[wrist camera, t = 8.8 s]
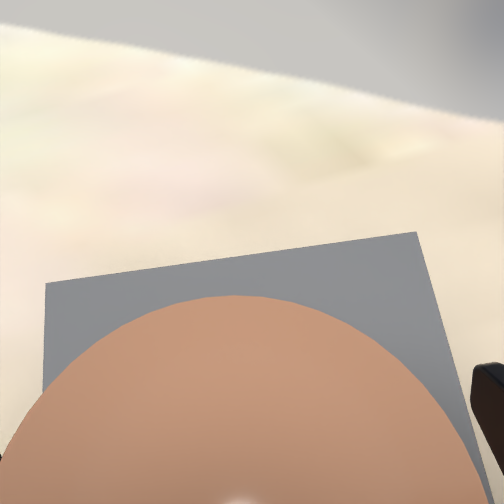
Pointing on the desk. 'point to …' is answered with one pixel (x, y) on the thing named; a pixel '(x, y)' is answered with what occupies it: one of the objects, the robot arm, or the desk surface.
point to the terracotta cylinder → (237, 417)
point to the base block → (287, 289)
